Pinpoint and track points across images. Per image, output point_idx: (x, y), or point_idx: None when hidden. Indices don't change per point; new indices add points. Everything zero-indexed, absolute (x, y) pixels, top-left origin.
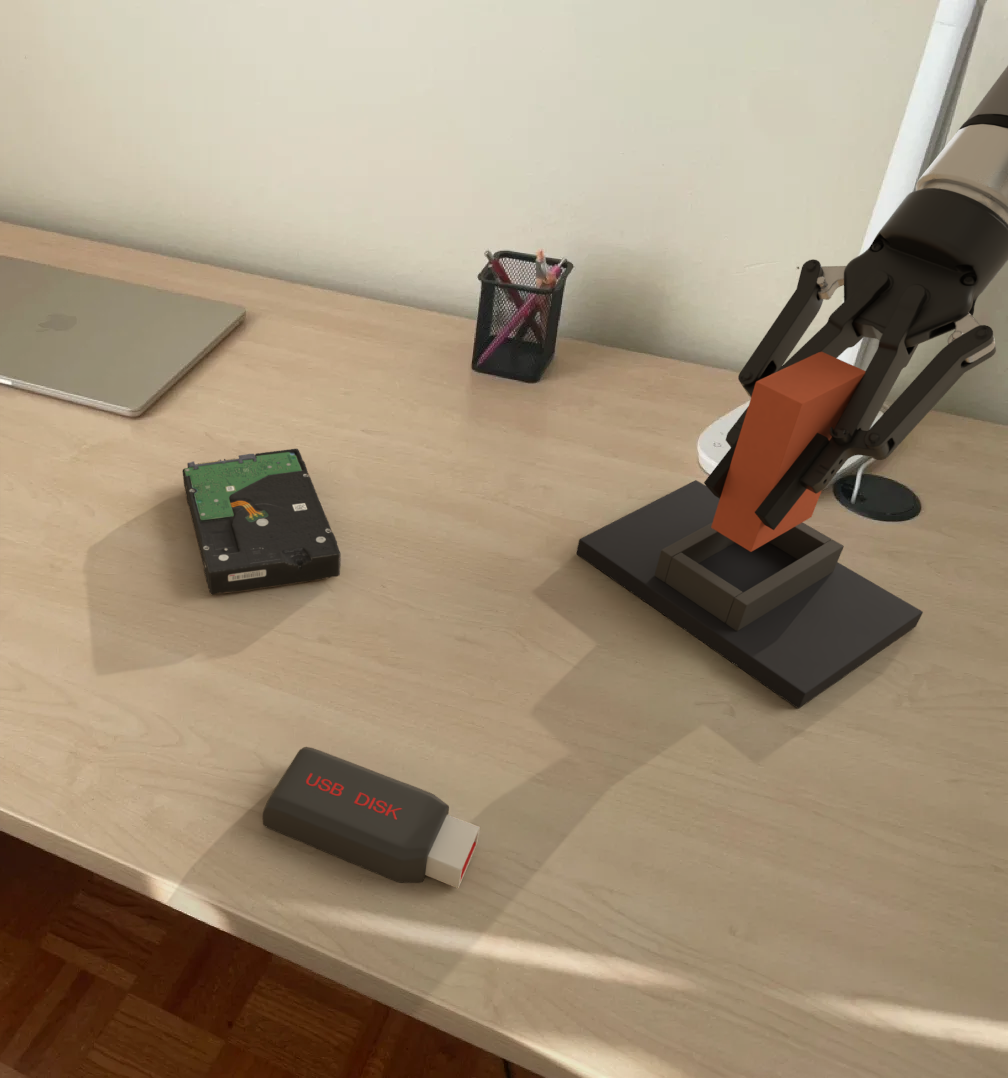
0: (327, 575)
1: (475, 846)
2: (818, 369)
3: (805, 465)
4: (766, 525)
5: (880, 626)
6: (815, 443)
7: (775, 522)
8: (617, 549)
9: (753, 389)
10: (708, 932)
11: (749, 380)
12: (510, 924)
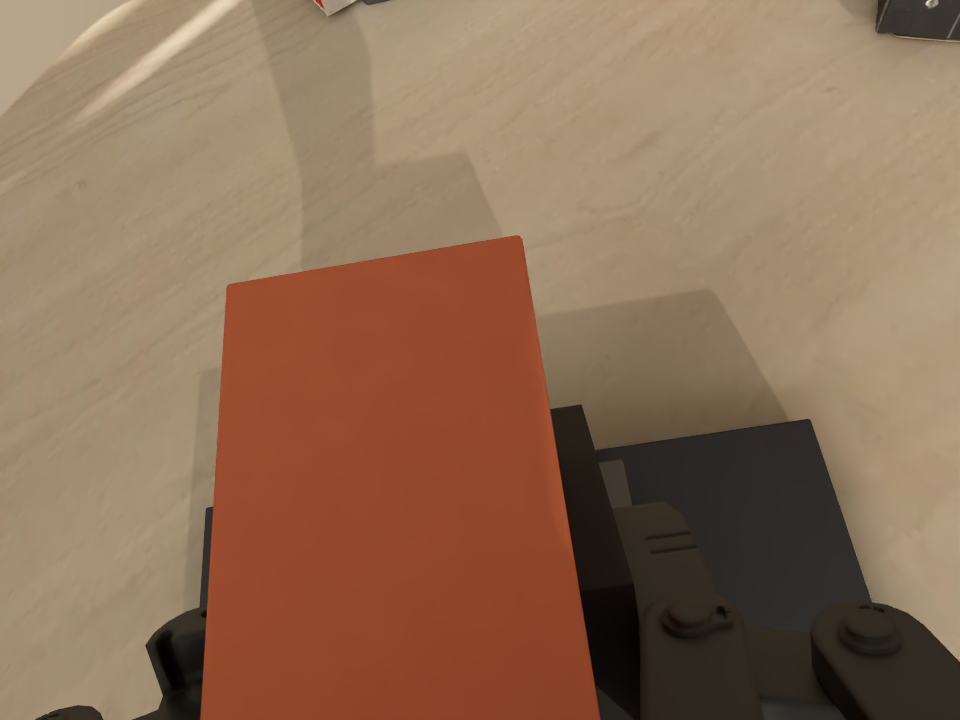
0: (878, 12)
1: (324, 10)
2: (428, 709)
3: None
4: None
5: None
6: None
7: None
8: (739, 472)
9: (785, 648)
10: (99, 162)
11: (832, 628)
12: (240, 15)
